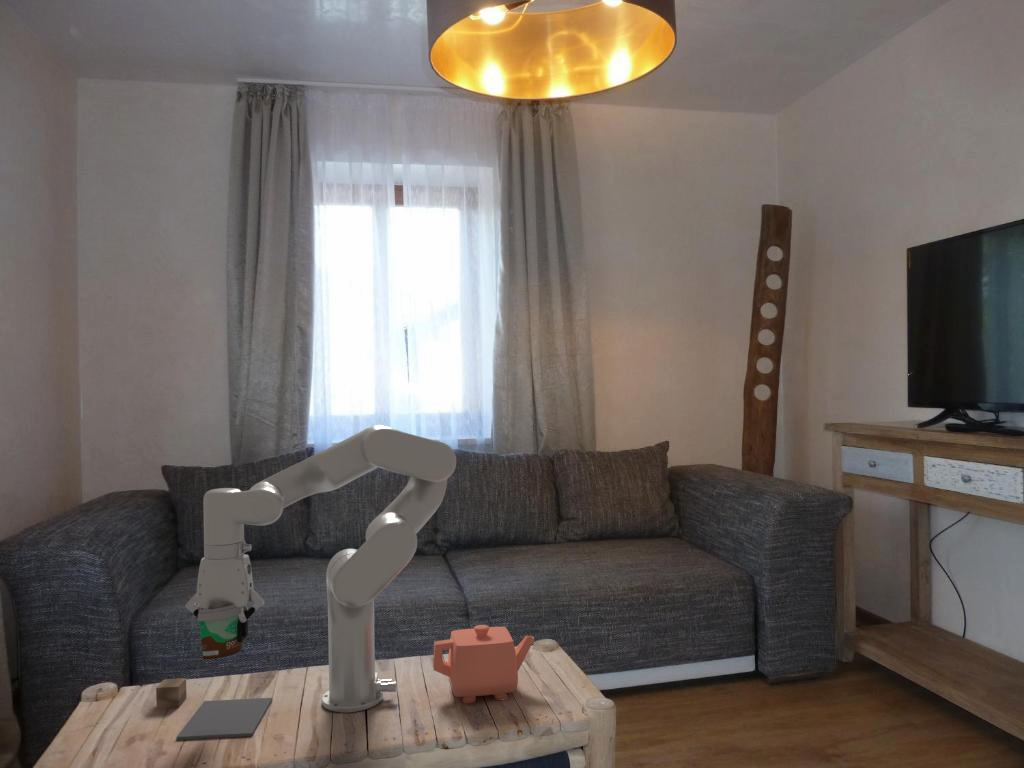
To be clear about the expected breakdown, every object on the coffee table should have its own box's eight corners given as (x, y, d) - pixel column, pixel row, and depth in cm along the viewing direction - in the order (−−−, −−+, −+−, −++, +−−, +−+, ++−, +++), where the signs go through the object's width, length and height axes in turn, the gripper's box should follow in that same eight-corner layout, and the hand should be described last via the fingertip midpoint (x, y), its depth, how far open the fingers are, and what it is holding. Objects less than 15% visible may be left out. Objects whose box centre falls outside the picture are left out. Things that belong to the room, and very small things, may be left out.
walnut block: (186, 699, 160) (186, 678, 160) (179, 708, 155) (178, 686, 155) (164, 700, 159) (164, 679, 159) (156, 709, 155) (156, 687, 155)
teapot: (529, 676, 169) (528, 613, 169) (541, 699, 156) (540, 631, 156) (431, 685, 165) (430, 620, 165) (436, 709, 152) (435, 640, 152)
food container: (228, 663, 143) (226, 611, 143) (198, 662, 144) (196, 610, 144) (259, 641, 155) (258, 592, 155) (232, 640, 156) (230, 592, 156)
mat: (272, 700, 158) (272, 697, 158) (252, 736, 142) (252, 732, 142) (204, 703, 157) (204, 701, 157) (176, 740, 141) (176, 736, 141)
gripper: (272, 545, 154) (273, 633, 154) (186, 548, 152) (188, 636, 152) (263, 553, 146) (264, 645, 146) (173, 556, 145) (174, 649, 145)
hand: (225, 640), depth 149 cm, fingers closed on food container, 5 cm apart
